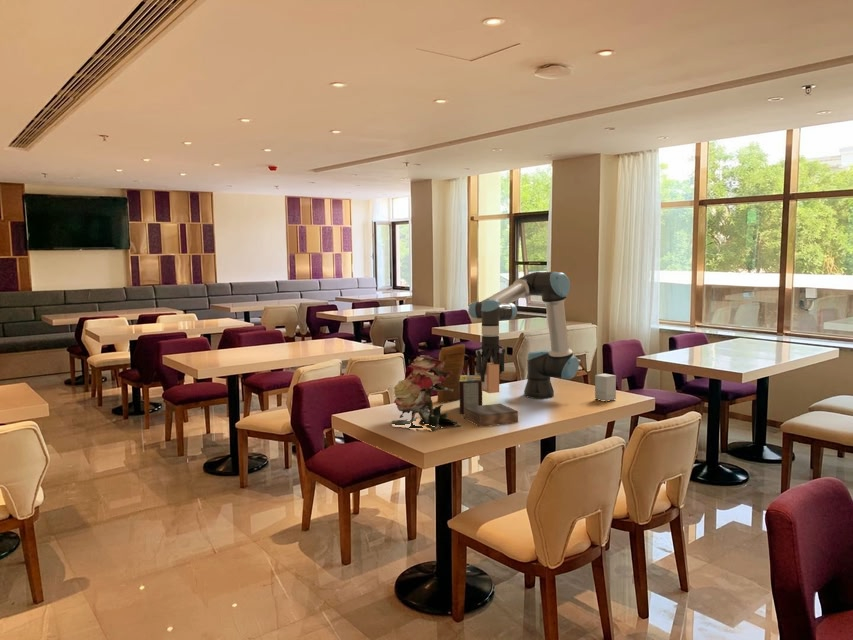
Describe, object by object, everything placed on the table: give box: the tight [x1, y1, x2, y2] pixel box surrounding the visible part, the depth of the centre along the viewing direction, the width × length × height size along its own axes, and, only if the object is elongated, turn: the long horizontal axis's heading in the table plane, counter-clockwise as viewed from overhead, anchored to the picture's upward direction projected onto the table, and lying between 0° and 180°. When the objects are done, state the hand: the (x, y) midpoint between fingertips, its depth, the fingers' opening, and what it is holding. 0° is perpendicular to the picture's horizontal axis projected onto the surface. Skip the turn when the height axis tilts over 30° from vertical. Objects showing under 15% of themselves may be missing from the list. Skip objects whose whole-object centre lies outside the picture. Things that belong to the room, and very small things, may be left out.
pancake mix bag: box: [436, 343, 466, 403], centre depth 315 cm, size 7×19×28 cm, turn 129°
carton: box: [482, 362, 500, 394], centre depth 273 cm, size 7×5×12 cm
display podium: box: [463, 403, 519, 427], centre depth 275 cm, size 18×16×5 cm
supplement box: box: [594, 373, 617, 401], centre depth 312 cm, size 7×7×13 cm
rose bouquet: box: [390, 354, 461, 431], centre depth 268 cm, size 26×29×30 cm
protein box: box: [459, 374, 483, 415], centre depth 293 cm, size 10×15×16 cm
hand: (490, 388), depth 274 cm, fingers closed on carton, 5 cm apart
